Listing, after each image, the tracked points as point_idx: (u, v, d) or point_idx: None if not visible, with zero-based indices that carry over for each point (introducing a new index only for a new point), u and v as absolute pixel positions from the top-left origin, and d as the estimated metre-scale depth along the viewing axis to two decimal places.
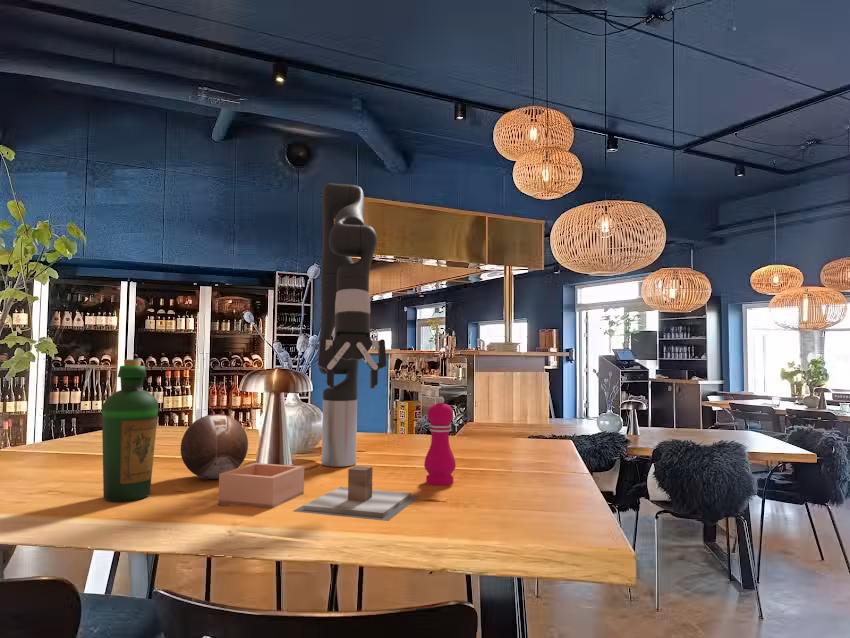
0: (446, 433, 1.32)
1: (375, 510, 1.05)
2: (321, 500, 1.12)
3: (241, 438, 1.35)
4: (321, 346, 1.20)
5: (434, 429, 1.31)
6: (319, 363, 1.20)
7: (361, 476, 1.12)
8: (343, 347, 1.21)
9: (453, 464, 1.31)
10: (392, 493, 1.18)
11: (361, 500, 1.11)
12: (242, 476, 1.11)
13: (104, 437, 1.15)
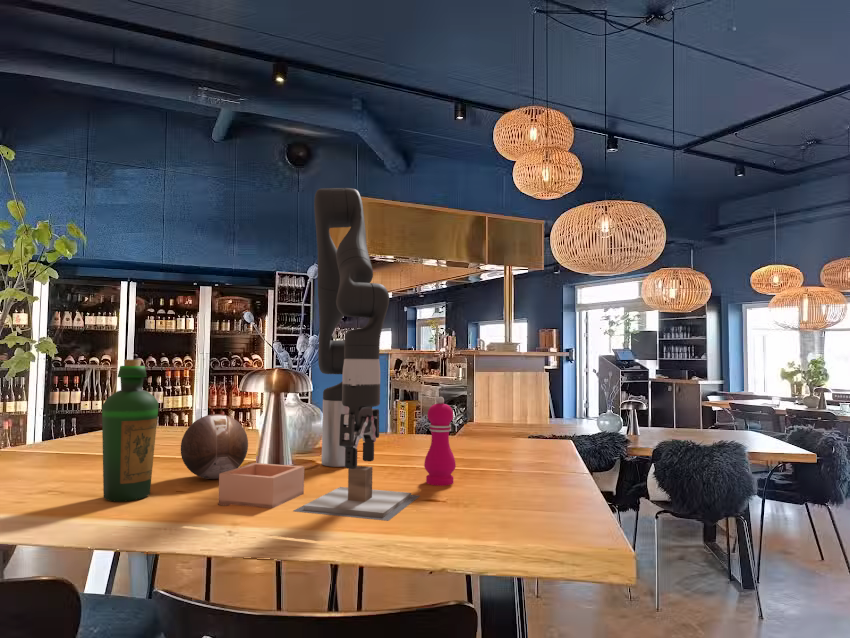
0: (446, 433, 1.32)
1: (375, 510, 1.05)
2: (321, 500, 1.12)
3: (241, 438, 1.35)
4: (352, 423, 1.08)
5: (434, 429, 1.31)
6: (351, 443, 1.07)
7: (361, 476, 1.12)
8: (365, 423, 1.12)
9: (453, 464, 1.31)
10: (392, 493, 1.18)
11: (361, 500, 1.11)
12: (242, 476, 1.11)
13: (104, 437, 1.15)
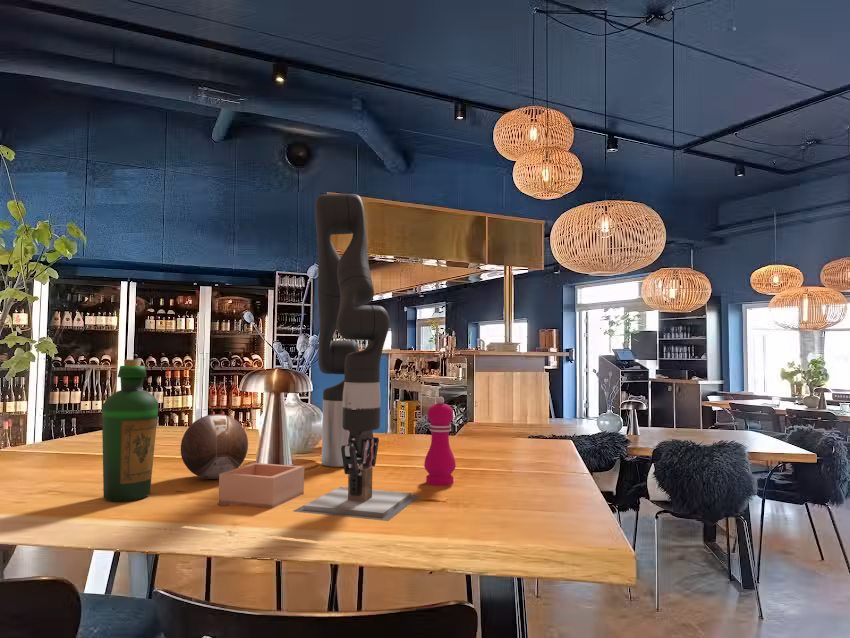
0: (446, 433, 1.32)
1: (375, 510, 1.05)
2: (321, 500, 1.12)
3: (241, 438, 1.35)
4: (354, 455, 1.08)
5: (434, 429, 1.31)
6: (356, 472, 1.09)
7: None
8: (366, 448, 1.12)
9: (453, 464, 1.31)
10: (392, 493, 1.18)
11: (361, 500, 1.11)
12: (242, 476, 1.11)
13: (104, 437, 1.15)
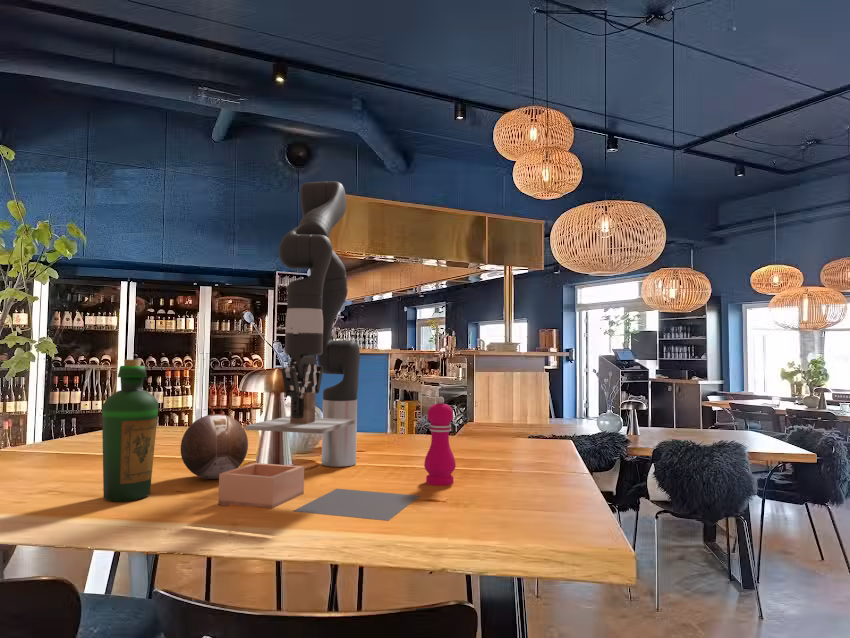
0: (446, 433, 1.32)
1: (314, 428, 1.08)
2: (264, 423, 1.15)
3: (241, 438, 1.35)
4: (294, 376, 1.11)
5: (434, 429, 1.31)
6: (297, 394, 1.12)
7: None
8: (308, 371, 1.15)
9: (453, 464, 1.31)
10: (336, 419, 1.21)
11: (303, 422, 1.14)
12: (242, 476, 1.11)
13: (104, 437, 1.15)
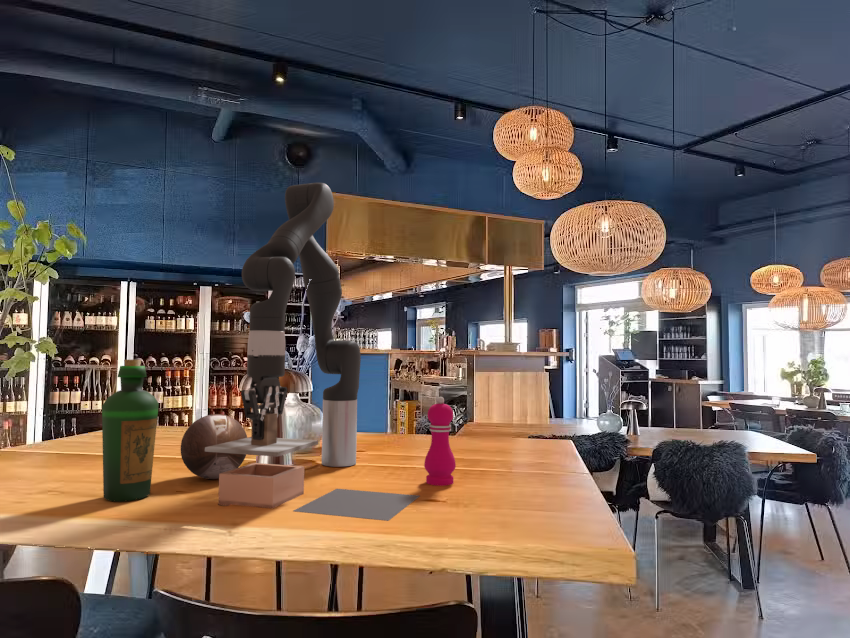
0: (446, 433, 1.32)
1: (271, 450, 1.09)
2: (225, 444, 1.15)
3: (241, 438, 1.35)
4: (253, 399, 1.12)
5: (434, 429, 1.31)
6: (256, 416, 1.13)
7: (264, 421, 1.15)
8: (268, 393, 1.15)
9: (453, 464, 1.31)
10: (299, 440, 1.22)
11: (263, 444, 1.15)
12: (242, 476, 1.11)
13: (104, 437, 1.15)
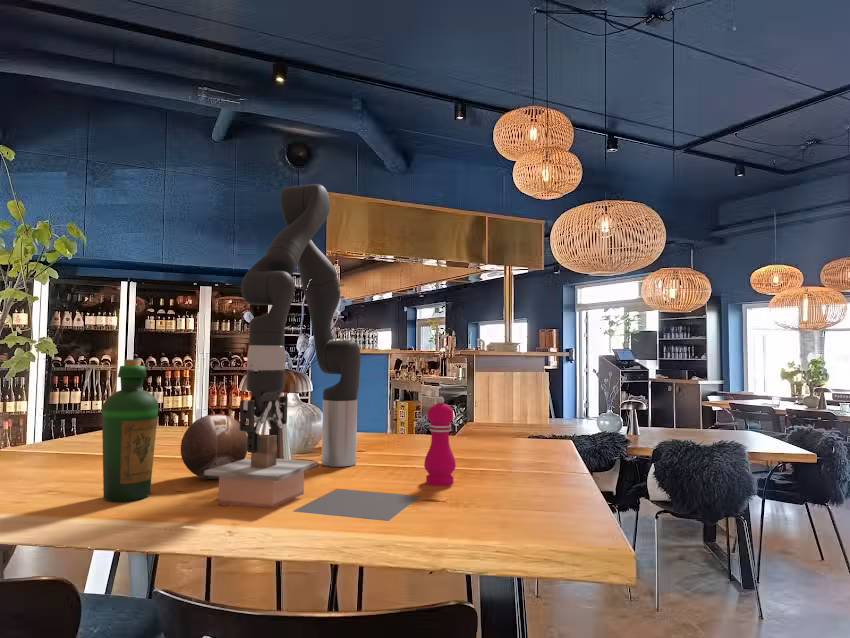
0: (446, 433, 1.32)
1: (271, 474, 1.08)
2: (224, 467, 1.15)
3: (241, 438, 1.35)
4: (251, 409, 1.11)
5: (434, 429, 1.31)
6: (251, 428, 1.11)
7: (263, 444, 1.15)
8: (267, 407, 1.15)
9: (453, 464, 1.31)
10: (298, 462, 1.21)
11: (263, 467, 1.15)
12: None
13: (104, 437, 1.15)
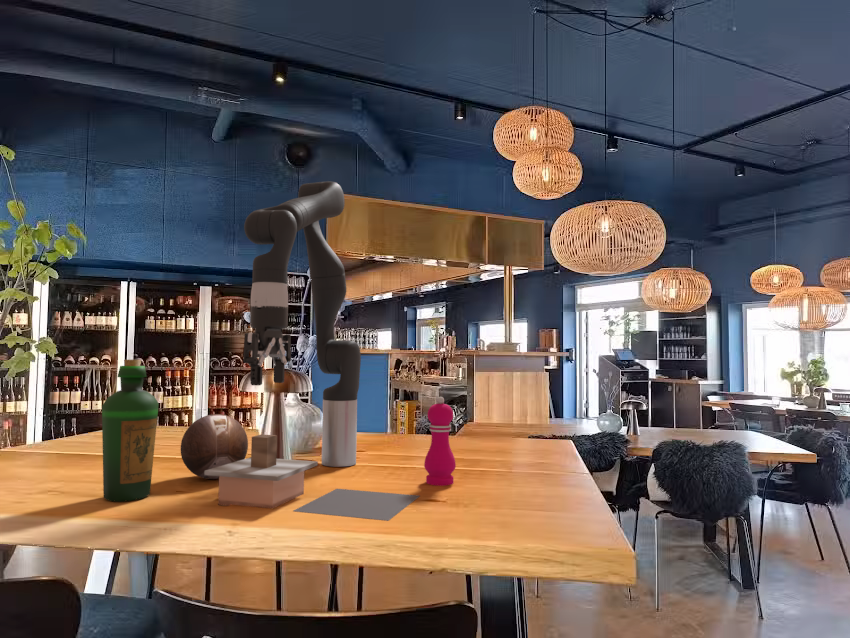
0: (446, 433, 1.32)
1: (271, 474, 1.08)
2: (224, 467, 1.15)
3: (241, 438, 1.35)
4: (255, 341, 1.13)
5: (434, 429, 1.31)
6: (254, 360, 1.12)
7: (263, 444, 1.15)
8: (271, 343, 1.17)
9: (453, 464, 1.31)
10: (298, 462, 1.21)
11: (263, 467, 1.15)
12: None
13: (104, 437, 1.15)
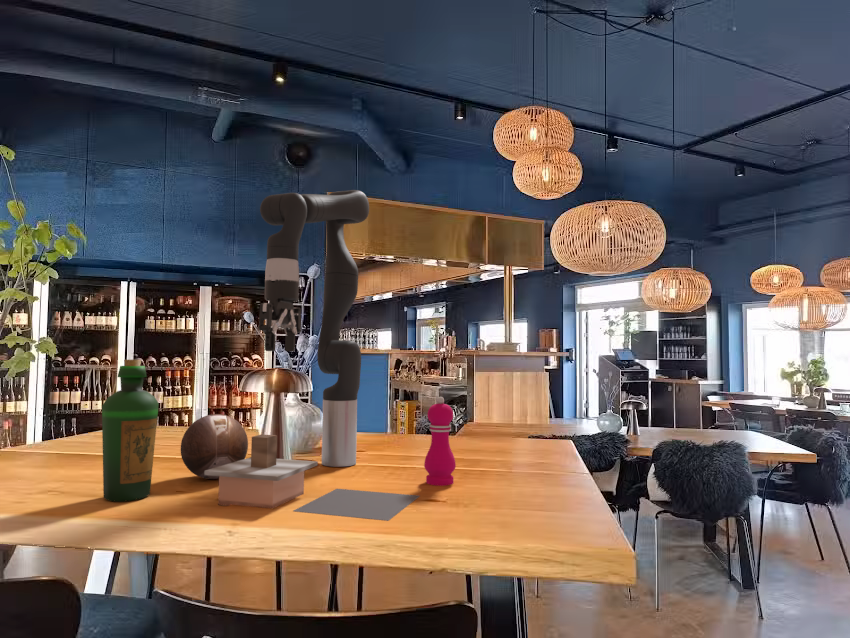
0: (446, 433, 1.32)
1: (271, 474, 1.08)
2: (224, 467, 1.15)
3: (241, 438, 1.35)
4: (270, 311, 1.25)
5: (434, 429, 1.31)
6: (268, 327, 1.24)
7: (263, 444, 1.15)
8: (283, 313, 1.29)
9: (453, 464, 1.31)
10: (298, 462, 1.21)
11: (263, 467, 1.15)
12: None
13: (104, 437, 1.15)
